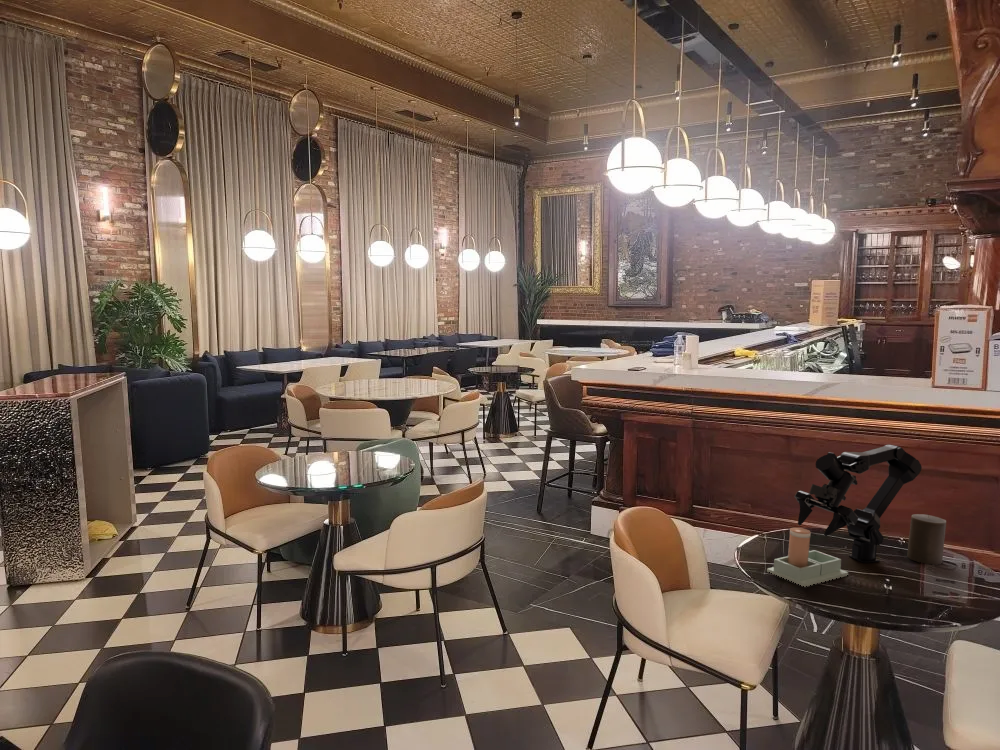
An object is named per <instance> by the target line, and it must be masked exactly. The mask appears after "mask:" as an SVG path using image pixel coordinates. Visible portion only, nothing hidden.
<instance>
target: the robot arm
mask: <svg viewBox="0 0 1000 750" xmlns="http://www.w3.org/2000/svg"><path fill="white" fill-rule="evenodd" d="M882 463H887V464H888V467H887V468H888V470H887V471H888V475H887V477H886V479H885V480H884V481H883V483H882V484H881V485H880V487H879V488H878V490H877V491H876V493H874V495H873V497H872V498H871V500H870V501H869V502H868V503H867V505H866V506H865V508H863V509H860V508H856V509H854V510H853V509H852V508H850V507H847V506H845V505H843V504H842V505H841V503H842V501H846V499H847V497H846V494H847V492H848V491H849V489H850V487H851V486H852V485H854V486H857V485H858V480H857V476H856V475H853V474H851V473H854V474H858V475H861V474H863V473H864V472H867V471H869V470H870V468H871V467H872V466H875V465H878V464H882ZM815 468H816V469H817V470H818V471H819V472H820V473H821V475H823V476H824V477H825V478H826V480H828V483H827V484H826V483H824V484H823V485H822V486H820V485H817V484H814V483H811V487H810V489H809V492H805V491H803V490H798V491H796V493H795V494H794V496H793V497H794V499H795V500H796V502H798V504H799V511H798V512H799V513H798V521H797V525H798V526H801V525H802V524H803V523H805V521H806V519H807V518H808V517H809V515H811V514H812V513H813V509H814V508H815V507H817V508H820V509H822V510H825V511H827V512H830V513H833V517H832V519H831V520H830V523H829V524H828V526H827V528H826V529H825V531H824V533H823V535H824V536H825V537H828V536H830V535H832V534H833V533H835V532H836V531H838V530H840V529H842V528H844V527H847V533H848V537H849V538H852V539H853V544H852V548H851V554H848V557H850V558H852V559H854V560H857V561H859V562H861V563H863V564H865V563H867V564H868V563H877V562H880V561H881V560H880V559H878V558H877V547H878V546H880V545H882V544H883V542H884V538H885V537H884V536H883V534H882V533H881V532H880V529H881V518H882V516H883V514H884V513H885V511H886V510H887V509H888V508H889V506H890V504H891V503H892V502H893V500H894V499H895V497H896V496H897V495H898V493H899V492H900V491H901V488H903V486H904V485H905V484H908V483H910V482H912V481H914V480H915V479H917V477H918V476H919V475H920V473H921V471H922V470H923V468H922V464H921V463H920V461H919V459H917V458H915V456H913V455H911V454H910V453H909V452H906V450H905V449H904V448H902V447H901V446H898V445H894V444H886V445H883V446H881V447H877V448H873V449H869V450H866V451H862V452H861V451H859V452H858V451H844V452H842V453H841V454H840V455H839V456H837V455H836V454H835V453H834V452H831V451H829V452H828V451H827V454H825V455H822V456H820V457H819V458H817V460H816V462H815ZM812 495H814V497H815V498H814V497H813V496H812Z"/></svg>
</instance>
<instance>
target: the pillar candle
mask: <svg viewBox="0 0 1000 750" xmlns="http://www.w3.org/2000/svg"><path fill="white" fill-rule="evenodd" d="M910 516H911V517H910V525H909V527H910V528H909V536H908V545H907V554H906V555H907V558H908V559H909V560H911V561H914V562H917V563H920V562H921V563H920V564H923V563H925V564H924V565H931V564H932V566H933V564H935V566H937V565H936V564H939V565H942V564H941V563H943V556H944V547H945V537H946V528H947V520H946V519H943V518H941V517H938V516H936V515H935V516H934V515H929V514H920V513H916V514H912V515H910Z"/></svg>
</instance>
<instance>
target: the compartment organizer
mask: <svg viewBox="0 0 1000 750" xmlns="http://www.w3.org/2000/svg"><path fill="white" fill-rule="evenodd" d="M841 567H842V559H841V558H838V557H835V556H833V555H830V554H826V552H825V553H824V552H821V551H819V550H815V549H812V550H809V556H808V566H806V567H802V568H799V567H796V566H793V565H791V564H788V555H787V556H783V557H782V556H781V557H778V558H774V560H773V566H772V567H767V569H766V572H767V573H769V572H770V573H769V574H771V573H772V575H774V574H775V575H774V576H776V575H777V576H776V577H778V576H779V577H778V578H781V577H782V578H781V579H783V578H784V580H786V579H787V580H786V581H788V580H789V581H788V582H791V581H792V582H791V583H793V582H794V583H793V584H795V583H796V585H798V584H799V585H798V586H800V585H801V586H800V587H803V586H804V588H807V587H811V586H814V585H813V584H815V585H818V584H822V583H825V581H826V582H829V580H830V581H832V579H833V580H836V578H837V579H840V577H841V578H844V577H847V575H848V576H849V571H846V570H843V569H842V568H841ZM821 582H822V583H821ZM817 583H818V584H817ZM810 585H811V586H810ZM806 586H807V587H806Z"/></svg>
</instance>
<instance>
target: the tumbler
mask: <svg viewBox="0 0 1000 750" xmlns="http://www.w3.org/2000/svg"><path fill="white" fill-rule="evenodd" d="M811 535H812V533H811V531H810V530H809V529H806V528H802V527H791V528H789V539H788V540H789V541H788V550H787V551H788V552H787V553H788V554H787V556H788V564H791V565H793V566H796V567H799V568H802V567H806V566H808V556H809V551H810V543H811V542H810V541H811Z"/></svg>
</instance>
